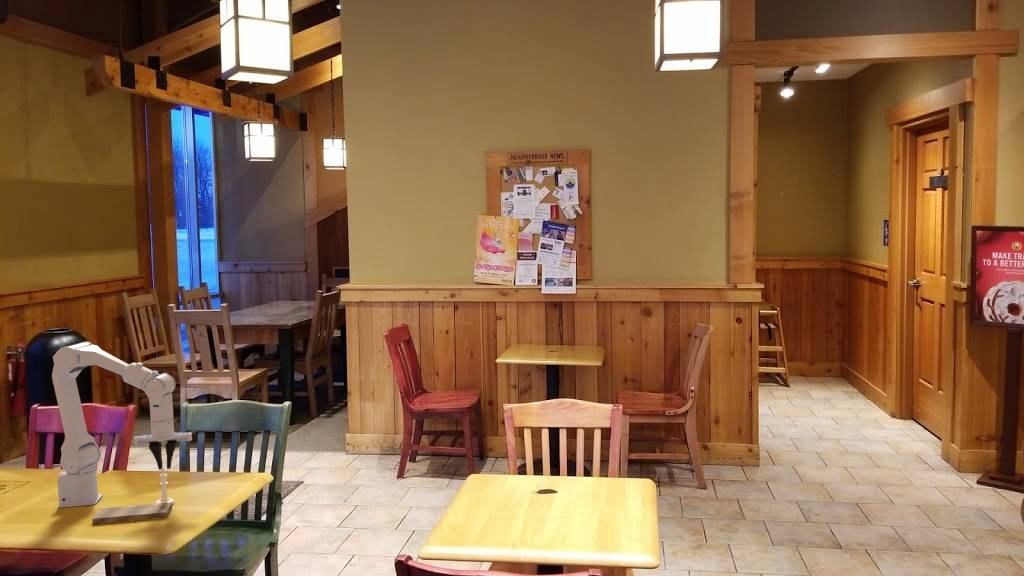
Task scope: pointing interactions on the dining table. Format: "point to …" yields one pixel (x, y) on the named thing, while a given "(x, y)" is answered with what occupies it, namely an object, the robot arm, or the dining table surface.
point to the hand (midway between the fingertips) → (164, 468)
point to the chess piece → (164, 489)
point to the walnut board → (132, 513)
